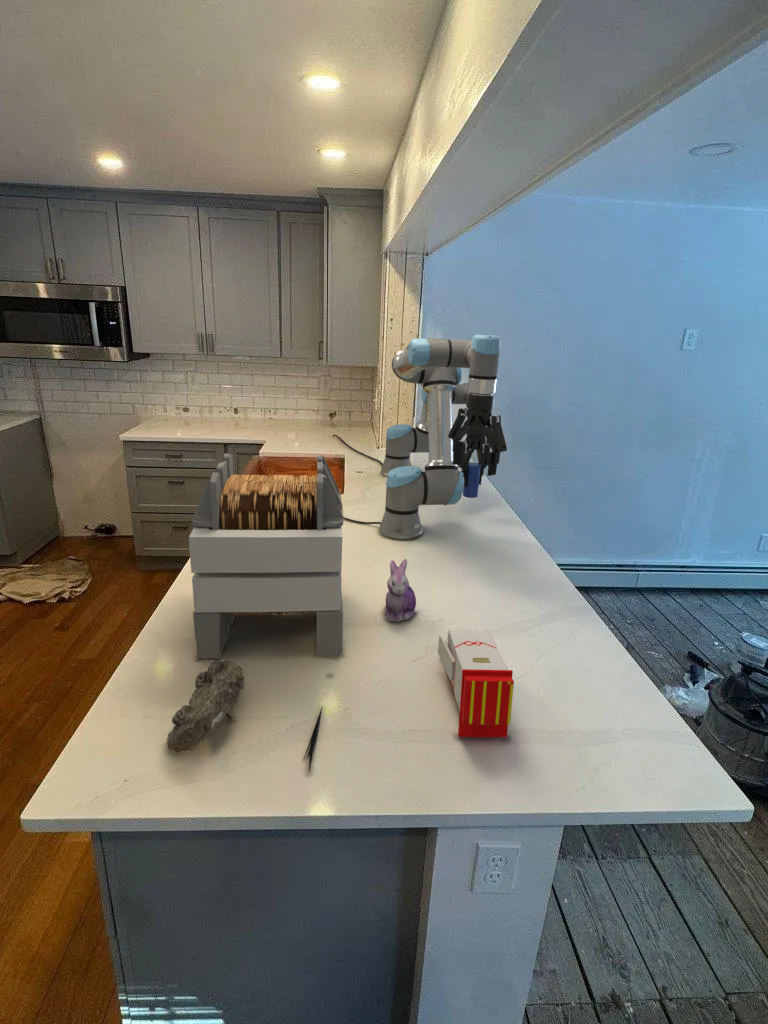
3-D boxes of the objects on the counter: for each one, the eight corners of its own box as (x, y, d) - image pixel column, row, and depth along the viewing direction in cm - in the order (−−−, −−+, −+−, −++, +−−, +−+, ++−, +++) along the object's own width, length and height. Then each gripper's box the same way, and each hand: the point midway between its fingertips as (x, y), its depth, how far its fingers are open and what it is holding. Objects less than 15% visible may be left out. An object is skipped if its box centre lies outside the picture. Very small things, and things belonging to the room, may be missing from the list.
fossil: (192, 660, 117) (244, 628, 112) (224, 691, 120) (276, 661, 115) (142, 746, 98) (202, 712, 93) (182, 779, 101) (242, 748, 96)
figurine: (392, 627, 141) (395, 572, 136) (374, 608, 149) (376, 556, 144) (425, 619, 145) (429, 566, 140) (405, 601, 154) (408, 550, 149)
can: (480, 495, 219) (483, 464, 215) (471, 499, 215) (475, 467, 211) (468, 492, 223) (471, 461, 219) (459, 495, 219) (462, 463, 215)
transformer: (219, 588, 156) (210, 443, 142) (338, 587, 160) (340, 446, 146) (193, 661, 124) (179, 483, 110) (343, 657, 128) (346, 485, 114)
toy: (488, 613, 130) (523, 677, 101) (484, 667, 133) (517, 744, 104) (435, 612, 130) (455, 676, 101) (432, 666, 133) (451, 743, 103)
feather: (331, 679, 122) (336, 673, 122) (307, 777, 96) (313, 769, 95) (324, 675, 122) (329, 669, 121) (298, 772, 95) (304, 764, 95)
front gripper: (526, 400, 148) (516, 478, 155) (458, 387, 166) (452, 457, 173) (507, 401, 143) (498, 482, 151) (439, 388, 162) (434, 460, 169)
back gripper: (461, 428, 203) (456, 489, 211) (503, 425, 211) (496, 484, 219) (450, 424, 209) (445, 484, 217) (491, 421, 217) (485, 479, 225)
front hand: (473, 469), depth 162 cm, fingers open, 13 cm apart
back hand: (471, 484), depth 218 cm, fingers closed on can, 6 cm apart
